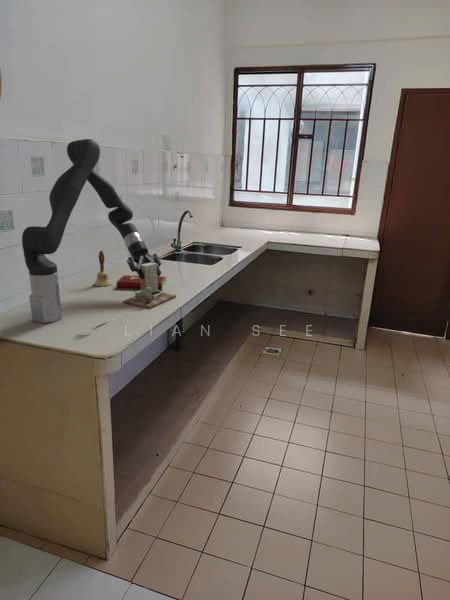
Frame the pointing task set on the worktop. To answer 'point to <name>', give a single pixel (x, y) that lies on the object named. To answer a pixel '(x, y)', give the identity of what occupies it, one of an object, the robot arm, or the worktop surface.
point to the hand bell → (102, 273)
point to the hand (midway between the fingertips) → (151, 276)
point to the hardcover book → (137, 282)
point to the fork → (95, 327)
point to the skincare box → (149, 277)
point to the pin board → (148, 305)
